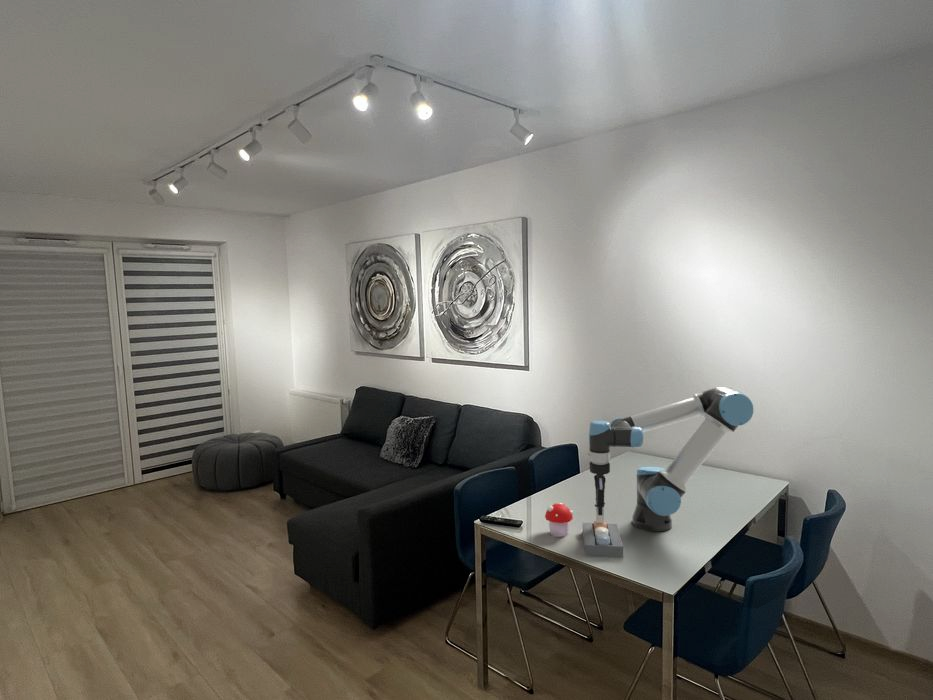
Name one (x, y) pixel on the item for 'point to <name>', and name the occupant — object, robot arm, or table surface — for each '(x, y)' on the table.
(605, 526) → the button terracotta
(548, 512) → the mushroom
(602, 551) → the grey button tray
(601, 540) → the button slate
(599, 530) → the button ivory
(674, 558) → the table surface
